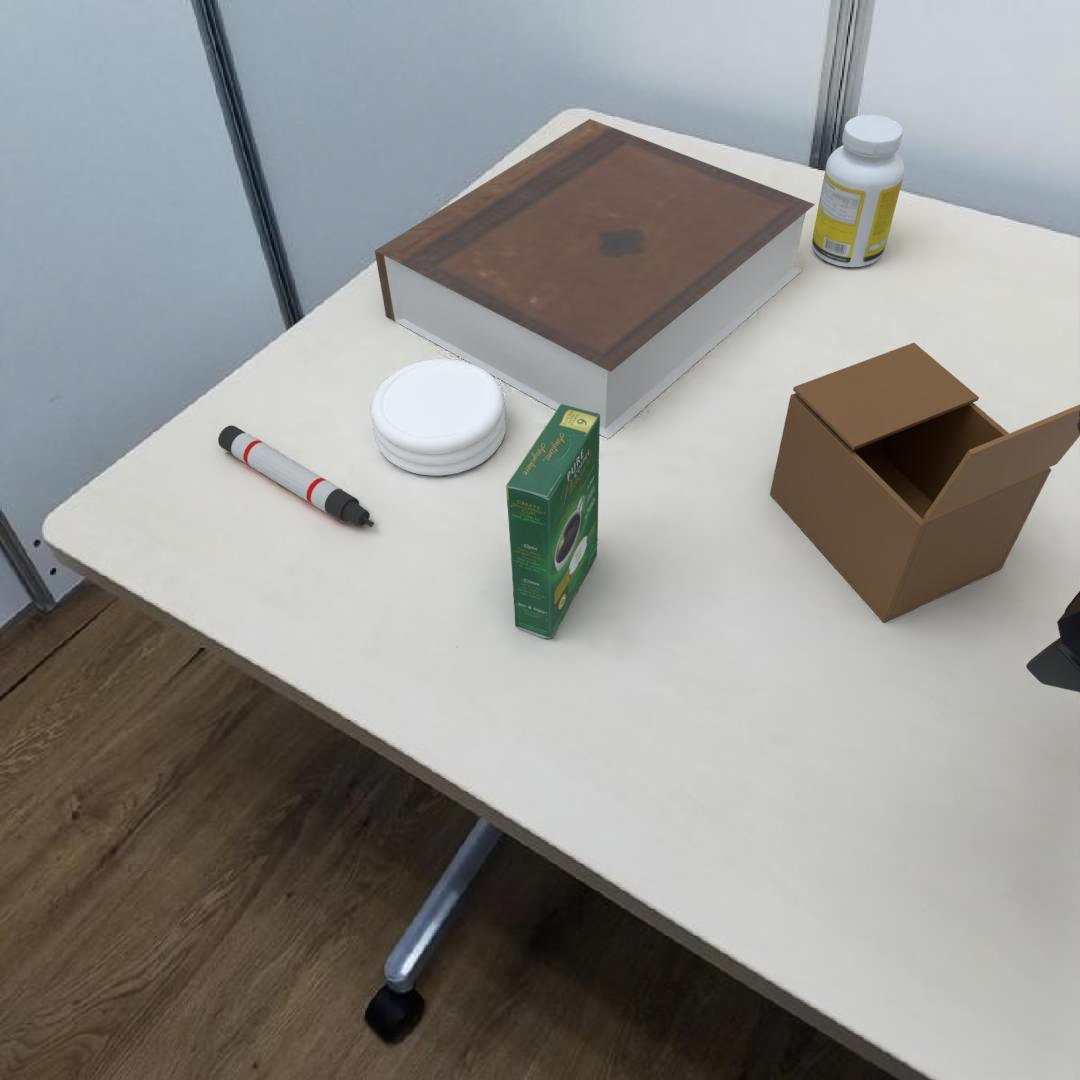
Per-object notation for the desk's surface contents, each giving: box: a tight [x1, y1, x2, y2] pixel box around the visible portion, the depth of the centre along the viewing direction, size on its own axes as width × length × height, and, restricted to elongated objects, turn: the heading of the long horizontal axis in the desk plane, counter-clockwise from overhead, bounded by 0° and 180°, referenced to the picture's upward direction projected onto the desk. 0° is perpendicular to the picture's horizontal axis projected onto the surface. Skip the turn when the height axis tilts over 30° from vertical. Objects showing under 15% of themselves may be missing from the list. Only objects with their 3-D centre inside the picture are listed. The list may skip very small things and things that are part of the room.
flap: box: [924, 404, 1080, 520], centre depth 56 cm, size 6×10×1 cm
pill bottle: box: [811, 114, 906, 268], centre depth 88 cm, size 6×6×12 cm
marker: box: [217, 425, 375, 528], centre depth 74 cm, size 15×2×2 cm, turn 53°
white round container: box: [369, 358, 507, 476], centre depth 76 cm, size 10×10×4 cm
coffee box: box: [505, 404, 600, 639], centre depth 63 cm, size 8×3×13 cm, turn 155°
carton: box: [769, 342, 1052, 623], centre depth 66 cm, size 13×10×10 cm
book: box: [374, 118, 816, 440], centre depth 87 cm, size 24×28×6 cm
